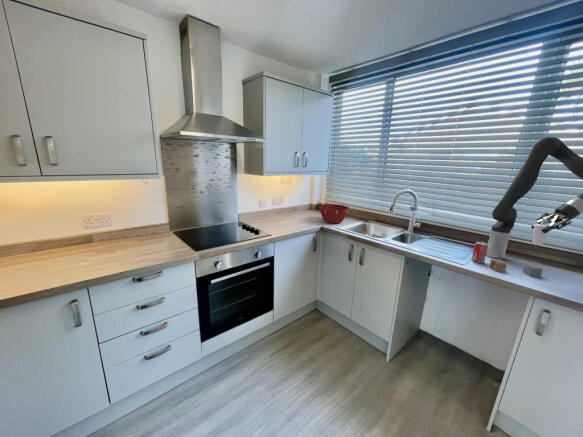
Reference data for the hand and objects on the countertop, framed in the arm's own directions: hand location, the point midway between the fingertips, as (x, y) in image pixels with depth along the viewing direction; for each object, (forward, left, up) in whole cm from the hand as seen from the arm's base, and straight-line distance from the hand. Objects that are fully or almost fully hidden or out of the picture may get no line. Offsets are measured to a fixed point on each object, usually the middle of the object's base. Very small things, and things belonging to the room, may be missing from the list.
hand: (537, 229), depth 123 cm
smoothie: (0, +2, -7) cm, 7 cm away
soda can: (-17, -14, -26) cm, 34 cm away
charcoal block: (-4, +6, -26) cm, 27 cm away
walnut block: (-7, -9, -26) cm, 29 cm away
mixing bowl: (-90, -105, -26) cm, 141 cm away
